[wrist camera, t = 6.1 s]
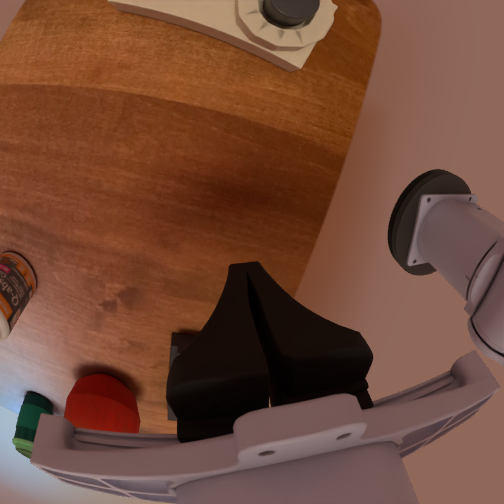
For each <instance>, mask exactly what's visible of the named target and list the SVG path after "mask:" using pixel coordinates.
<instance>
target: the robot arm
mask: <svg viewBox="0 0 504 504" xmlns="http://www.w3.org/2000/svg"><path fill="white" fill-rule="evenodd" d="M427 199H428V200H427ZM476 202H477V195H475V194H422V195H421V196H420V199H419V205H418V210H417V215H416V220H415V225H414V230H413V235H412V239H411V244H410V248H409V252H408V256H407V260H406V264H407V265H408V266H413V265H418V264H423V263H428V262H429V263H430V264H431V265H432V266H433V267H434V268H435V269H436V270H437V271H438V272H439V273H440V274H441V275H442V276H443V277H444V278H445V279H446V280H447V281H448V282H449V283H450V284H451V285H452V286H453V288H454V289H455V290H456V291H457V292H458V293H459V294H460V295H461V296H462V297H463V298H464V299H465V300H466V301H467V303H466V306H465V307H464V309H465V310H466V312H467V313H468V314H469V315H470V317H469V319H468V330H469V333H470V336H471V339H472V341H473V342H474V344H475V345H476V347H477V348H478V349H479V350H480V351H481V352H482V353H483V354H484V355H486V356H487V357H489V358H490V359H493V360H495V361H497V362H498V363H500V364H501V365H502V366H504V222H503V221H501V220H500V219H498V218H497V217H496V216H494V215H493V214H491V213H490V212H488V211H487V210H485V209H483V208H482V207H480V206H479V205H477V204H476ZM372 361H373V353H372V351H371V349H370V348H369V346H368V344H367V343H366V341H365V339H364V338H363V337H362V336H361V334H360V333H359V332H357V331H354V330H352V329H349V328H346V327H343V326H340V325H338V324H335V323H333V322H331V321H329V320H327V319H325V318H323V317H321V316H319V315H317V314H315V313H313V312H312V311H310V310H309V309H307V308H306V307H304V306H303V305H301V304H300V303H298V302H297V301H296V300H295V299H293V298H292V297H291V296H290V295H289V294H288V293H286V292H285V291H284V290H283V289H282V288H281V287H280V286H279V285H278V284H277V283H276V282H275V281H274V280H273V279H272V278H271V276H270V275H269V274H268V273H267V272H266V271H265V269H264V268H263V267H262V265H261V264H260V263H259V262H258V261H256V262H247V263H238V264H231V265H230V266H229V271H228V277H227V280H226V284H225V287H224V290H223V292H222V295H221V297H220V299H219V302H218V304H217V306H216V308H215V310H214V312H213V313H212V315H211V317H210V318H209V320H208V321H207V323H206V324H205V326H204V327H203V329H202V330H201V331H200V333H199V334H198V335H197V336H196V337H195V339H194V340H193V341H192V342H191V343H190V344H189V345H188V347H187V348H186V349H184V350H183V351H182V352H181V353H180V354H179V355H178V356H177V357H176V358H175V359H174V360H173V362H172V365H171V368H170V371H169V375H168V380H167V390H166V399H167V403H168V405H169V406H170V408H171V410H172V411H173V413H174V415H175V416H176V418H177V434H138V433H122V432H110V431H100V430H92V429H85V428H78V427H74V425H73V424H72V423H71V422H70V421H68V420H67V419H65V418H63V417H60V416H55V415H49V414H44V413H42V414H41V416H40V419H39V423H38V427H37V431H36V435H35V440H34V444H33V449H32V454H31V459H30V462H31V464H33V465H34V466H36V467H38V468H39V469H41V470H43V471H45V472H46V473H48V474H49V475H51V476H53V477H55V478H57V479H59V480H60V481H62V482H64V483H67V484H71V485H74V486H78V487H82V488H86V489H90V490H94V491H99V492H103V493H107V494H112V495H117V496H122V497H128V498H133V499H139V500H147V501H154V502H163V503H174V504H419V502H418V499H417V497H416V494H415V492H414V489H413V486H412V484H411V481H410V479H409V476H408V474H407V471H406V469H405V466H404V464H403V461H402V458H404V457H406V456H408V455H410V454H411V453H413V452H415V451H417V450H419V449H421V448H423V447H424V446H426V445H428V444H430V443H431V442H433V441H435V440H436V439H438V438H440V437H441V436H443V435H445V434H446V433H448V432H449V431H451V430H453V429H454V428H456V427H457V426H459V425H460V424H462V423H464V422H465V421H467V420H468V419H470V418H471V417H473V416H474V415H475V414H476V413H477V412H478V411H479V410H480V409H481V408H482V407H483V406H484V405H485V404H486V403H487V402H488V401H489V400H490V398H491V397H492V396H493V395H494V394H495V393H496V392H497V391H498V389H499V388H500V385H499V384H498V382H497V381H496V379H495V378H494V376H493V375H492V373H491V372H490V370H489V369H488V367H487V366H486V364H485V363H484V362H483V360H482V359H481V357H480V356H479V355H478V354H477V352H476V351H475V350H474V351H472V352H470V353H468V354H466V355H464V356H462V357H460V358H459V359H458V360H457V361H456V362H455V363H454V364H453V366H452V367H451V370H450V371H448V372H445V373H443V374H441V375H439V376H437V377H435V378H432V379H430V380H428V381H426V382H423V383H421V384H418V385H416V386H414V387H411V388H409V389H406V390H403V391H401V392H398V393H396V394H393V395H390V396H387V397H384V398H381V399H379V400H376V401H373V402H372V400H371V398H370V395H369V393H368V391H367V389H368V387H369V386H368V383H367V381H366V379H365V378H366V375H367V373H368V371H369V369H370V367H371V364H372ZM269 398H270V404H271V407H270V408H269Z"/></svg>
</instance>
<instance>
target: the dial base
mask: <svg viewBox="0 0 504 504" xmlns="http://www.w3.org/2000/svg"><path fill="white" fill-rule="evenodd" d="M108 2H110V3H111V4H112V5H113V6H114V7H115V8H117V9H118V10H119V11H124V12H129V13H134V14H138V15H143V16H147V17H151V18H155V19H159V20H162V21H166V22H169V23H173V24H176V25H179V26H183V27H186V28H189V29H192V30H195V31H198V32H201V33H203V34H206V35H209V36H212V37H214V38H217V39H219V40H222V41H224V42H227V43H229V44H232V45H234V46H237V47H239V48H241V49H244V50H246V51H248V52H250V53H252V54H255V55H257V56H259V57H261V58H263V59H265V60H267V61H269V62H271V63H273V64H275V65H277V66H279V67H281V68H283V69H285V70H287V71H289V72H292V71H295V70H299V69H301V68H302V66H303V65H304V63H305V61H306V59H307V58H308V56H309V54H310V53H311V51H312V49H313V47H314V46H315V44H316V42H317V41H319V40H321V39H323V38H324V37H325V35H326V33H327V32H328V30H329V28H330V27H331V25H332V23H333V21H334V16H333V14H334V12H335V11H336V9H337V8H338V7H337V6H336V5H335V4H333V3H332V1H331V0H320V6H319V9H318V11H317V12H316V13H315V14H314V15H313V16H311V17H310V18H308V19H307V20H306V21H304V22H303V23H301V24H299V25H297V26H291V27H288V26H282V25H278V24H276V23H274V22H273V21H271V20H270V19H269V18H268V17H267V16H266V14H265V13H264V10H263V0H108Z"/></svg>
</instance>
